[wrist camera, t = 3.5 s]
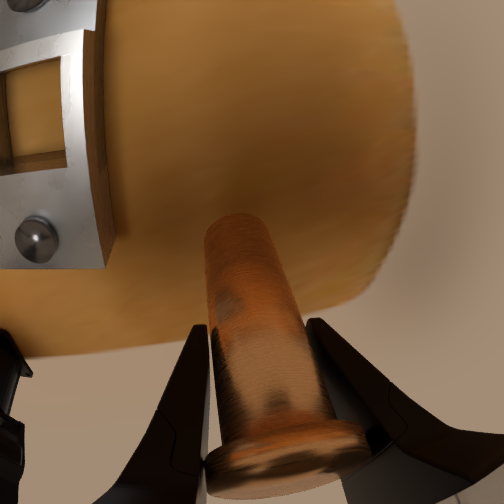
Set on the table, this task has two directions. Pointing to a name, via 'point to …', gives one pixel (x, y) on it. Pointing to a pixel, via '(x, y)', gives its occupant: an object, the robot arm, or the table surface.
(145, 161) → the table surface
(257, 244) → the pin
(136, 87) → the table surface
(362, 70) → the table surface
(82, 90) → the slotted metal plate
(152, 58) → the table surface
